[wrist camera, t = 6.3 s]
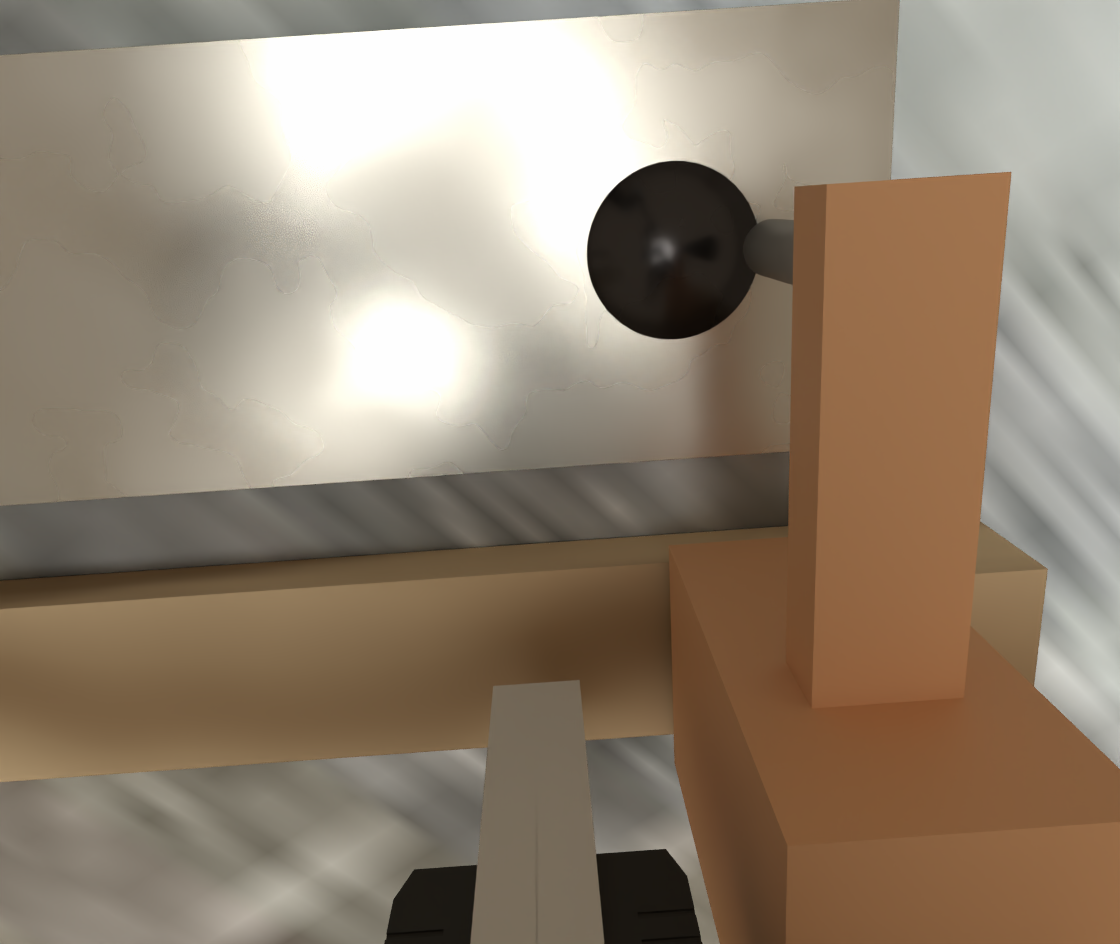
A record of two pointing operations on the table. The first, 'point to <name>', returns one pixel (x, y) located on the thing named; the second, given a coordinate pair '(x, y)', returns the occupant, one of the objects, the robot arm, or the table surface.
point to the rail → (369, 651)
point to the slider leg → (881, 621)
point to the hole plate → (415, 245)
